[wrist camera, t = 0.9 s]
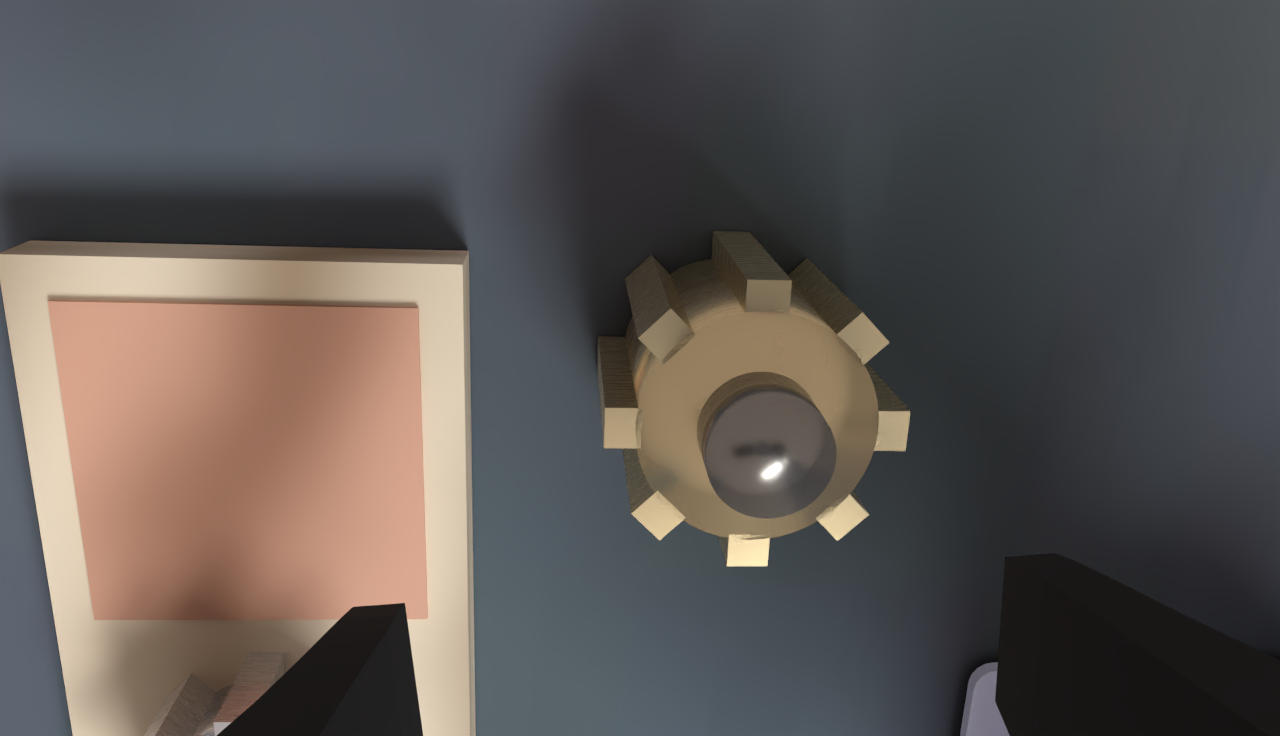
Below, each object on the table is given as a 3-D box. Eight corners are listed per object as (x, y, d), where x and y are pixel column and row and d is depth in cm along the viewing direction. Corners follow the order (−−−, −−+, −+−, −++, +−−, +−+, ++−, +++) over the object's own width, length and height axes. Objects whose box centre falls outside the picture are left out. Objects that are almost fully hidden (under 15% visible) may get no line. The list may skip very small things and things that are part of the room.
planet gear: (858, 234, 20) (953, 302, 15) (834, 471, 22) (912, 603, 17) (601, 228, 20) (611, 295, 15) (594, 469, 21) (603, 604, 16)
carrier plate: (468, 251, 20) (461, 265, 18) (476, 809, 24) (471, 851, 22) (30, 240, 19) (-8, 255, 18) (115, 814, 23) (90, 859, 22)
